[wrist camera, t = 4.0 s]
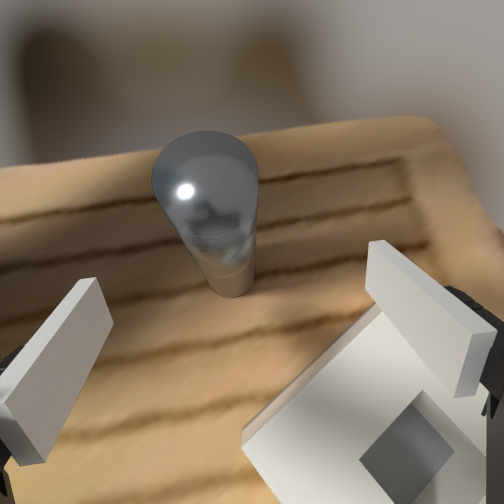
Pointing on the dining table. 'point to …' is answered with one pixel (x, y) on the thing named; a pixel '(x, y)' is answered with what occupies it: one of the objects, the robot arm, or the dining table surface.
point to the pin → (212, 205)
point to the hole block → (370, 428)
